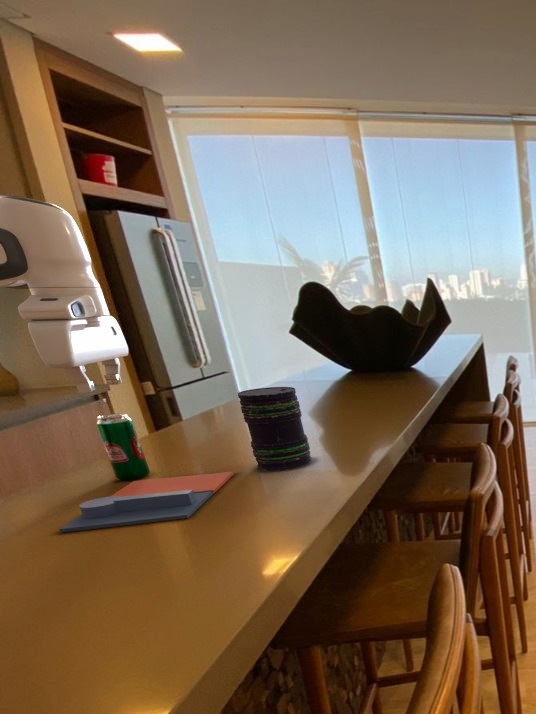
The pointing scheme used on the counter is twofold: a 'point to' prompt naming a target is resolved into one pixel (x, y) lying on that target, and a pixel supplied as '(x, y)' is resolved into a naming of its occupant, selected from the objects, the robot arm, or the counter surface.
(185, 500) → the rounded-end blue bar
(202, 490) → the sorting mat
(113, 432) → the soda can
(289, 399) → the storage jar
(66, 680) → the counter surface
